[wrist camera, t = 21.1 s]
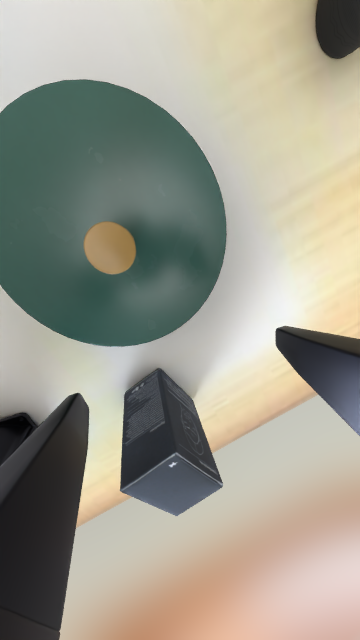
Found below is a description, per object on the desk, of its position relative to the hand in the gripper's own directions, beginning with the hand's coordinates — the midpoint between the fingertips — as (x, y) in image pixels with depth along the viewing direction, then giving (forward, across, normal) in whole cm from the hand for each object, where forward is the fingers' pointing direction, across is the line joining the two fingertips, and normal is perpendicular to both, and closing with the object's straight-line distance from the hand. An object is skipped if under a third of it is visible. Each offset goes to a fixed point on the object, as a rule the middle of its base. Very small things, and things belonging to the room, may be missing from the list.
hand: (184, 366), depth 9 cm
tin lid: (+10, +2, -5) cm, 11 cm away
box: (+13, +3, +14) cm, 19 cm away
